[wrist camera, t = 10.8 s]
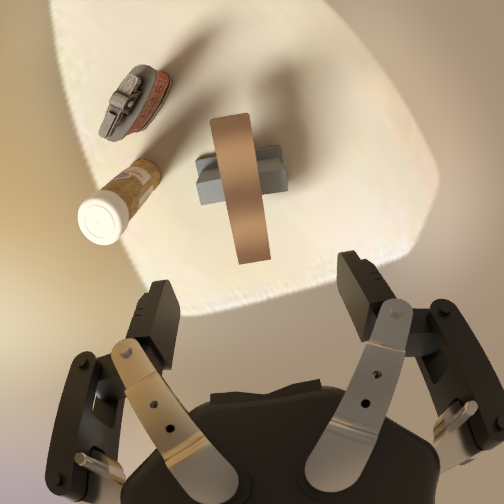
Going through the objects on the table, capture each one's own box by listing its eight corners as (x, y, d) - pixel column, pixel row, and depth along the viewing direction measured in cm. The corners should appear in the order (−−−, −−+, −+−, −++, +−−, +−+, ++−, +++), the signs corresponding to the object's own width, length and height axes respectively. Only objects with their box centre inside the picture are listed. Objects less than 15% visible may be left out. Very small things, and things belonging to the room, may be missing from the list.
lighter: (155, 67, 24) (123, 55, 16) (179, 78, 25) (155, 70, 17) (123, 124, 27) (82, 137, 19) (145, 136, 28) (111, 153, 20)
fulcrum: (196, 159, 31) (188, 172, 26) (279, 145, 30) (289, 155, 25) (204, 197, 33) (199, 217, 28) (284, 184, 33) (293, 201, 28)
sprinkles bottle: (152, 153, 30) (105, 188, 18) (166, 185, 32) (131, 236, 21) (121, 168, 30) (67, 210, 19) (136, 198, 33) (92, 253, 21)
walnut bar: (213, 118, 23) (209, 121, 20) (247, 112, 23) (249, 114, 20) (238, 246, 30) (239, 264, 27) (267, 241, 30) (270, 259, 27)
